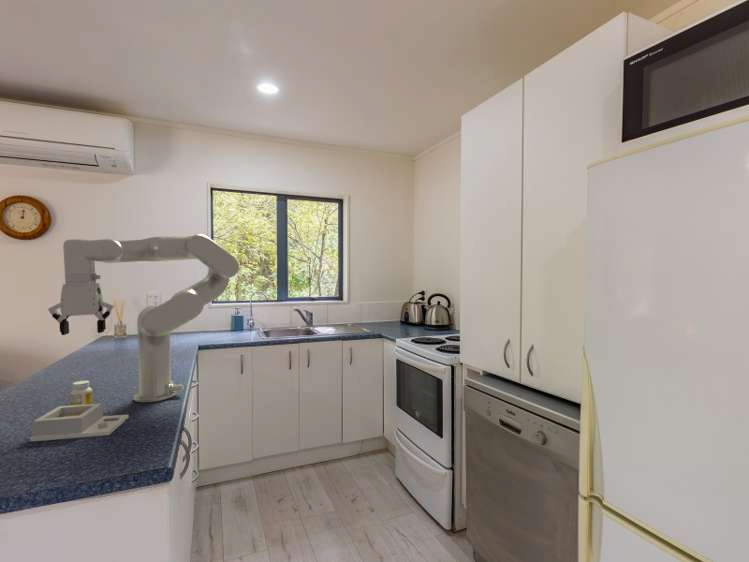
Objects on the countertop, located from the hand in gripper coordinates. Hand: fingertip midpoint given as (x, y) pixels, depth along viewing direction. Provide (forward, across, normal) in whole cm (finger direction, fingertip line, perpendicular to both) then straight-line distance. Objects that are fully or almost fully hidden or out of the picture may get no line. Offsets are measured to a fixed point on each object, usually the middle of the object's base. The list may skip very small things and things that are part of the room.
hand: (83, 333), depth 118 cm
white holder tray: (+24, -6, +18) cm, 30 cm away
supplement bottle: (+24, 0, +4) cm, 25 cm away
